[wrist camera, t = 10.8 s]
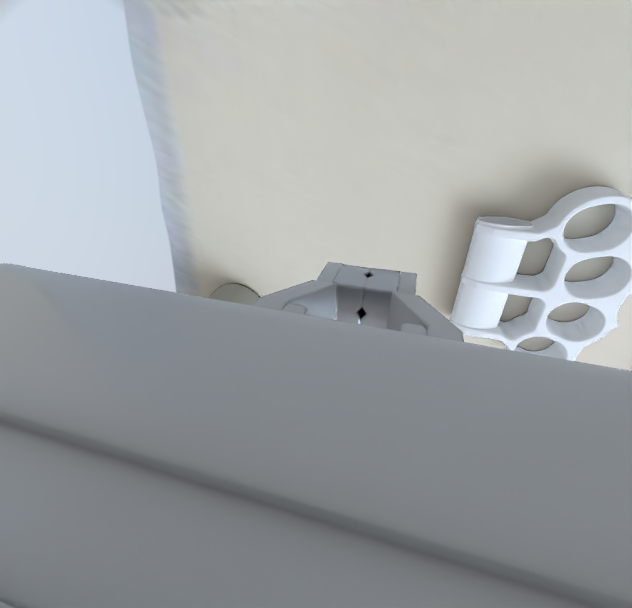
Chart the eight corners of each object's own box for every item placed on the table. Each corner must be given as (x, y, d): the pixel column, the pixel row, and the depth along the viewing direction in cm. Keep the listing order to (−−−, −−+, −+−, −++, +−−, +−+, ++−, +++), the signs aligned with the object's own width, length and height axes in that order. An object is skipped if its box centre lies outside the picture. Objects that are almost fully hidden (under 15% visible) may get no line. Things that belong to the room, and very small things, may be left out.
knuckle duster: (484, 177, 30) (683, 191, 27) (442, 340, 40) (586, 365, 36) (490, 185, 28) (712, 202, 24) (442, 358, 37) (598, 387, 34)
